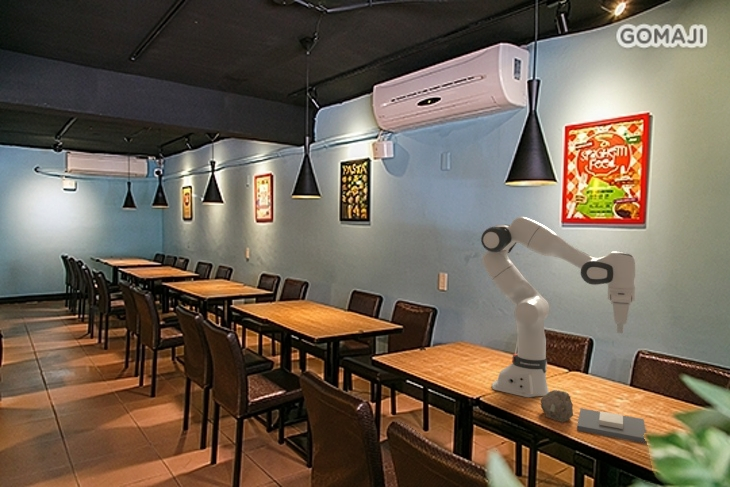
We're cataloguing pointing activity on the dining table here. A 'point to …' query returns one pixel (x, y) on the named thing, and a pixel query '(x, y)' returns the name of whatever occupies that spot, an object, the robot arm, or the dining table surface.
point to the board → (630, 431)
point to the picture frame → (611, 420)
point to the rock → (557, 405)
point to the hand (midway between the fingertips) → (619, 332)
